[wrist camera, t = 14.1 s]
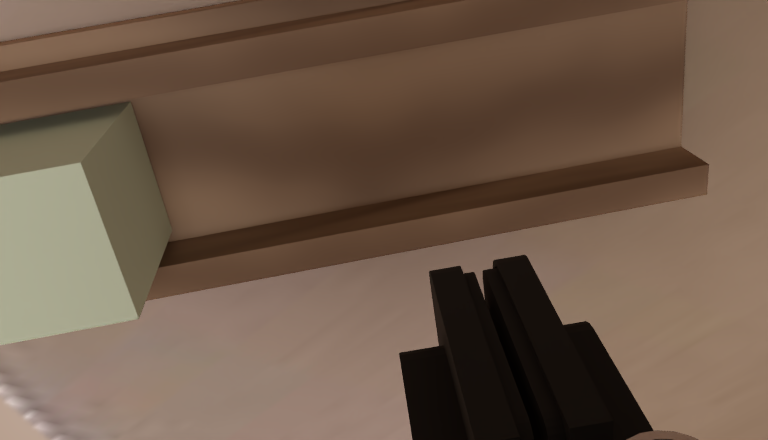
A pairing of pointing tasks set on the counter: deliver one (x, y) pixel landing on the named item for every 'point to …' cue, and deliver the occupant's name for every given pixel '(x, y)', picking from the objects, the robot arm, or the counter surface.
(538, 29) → the chute
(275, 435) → the counter surface
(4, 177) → the block
